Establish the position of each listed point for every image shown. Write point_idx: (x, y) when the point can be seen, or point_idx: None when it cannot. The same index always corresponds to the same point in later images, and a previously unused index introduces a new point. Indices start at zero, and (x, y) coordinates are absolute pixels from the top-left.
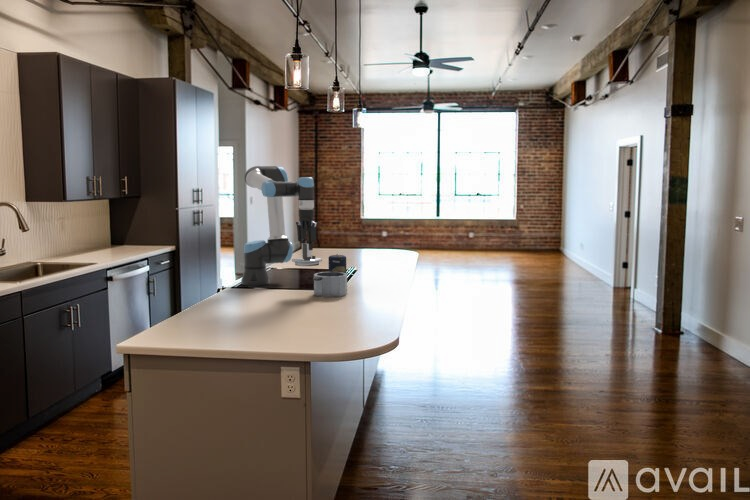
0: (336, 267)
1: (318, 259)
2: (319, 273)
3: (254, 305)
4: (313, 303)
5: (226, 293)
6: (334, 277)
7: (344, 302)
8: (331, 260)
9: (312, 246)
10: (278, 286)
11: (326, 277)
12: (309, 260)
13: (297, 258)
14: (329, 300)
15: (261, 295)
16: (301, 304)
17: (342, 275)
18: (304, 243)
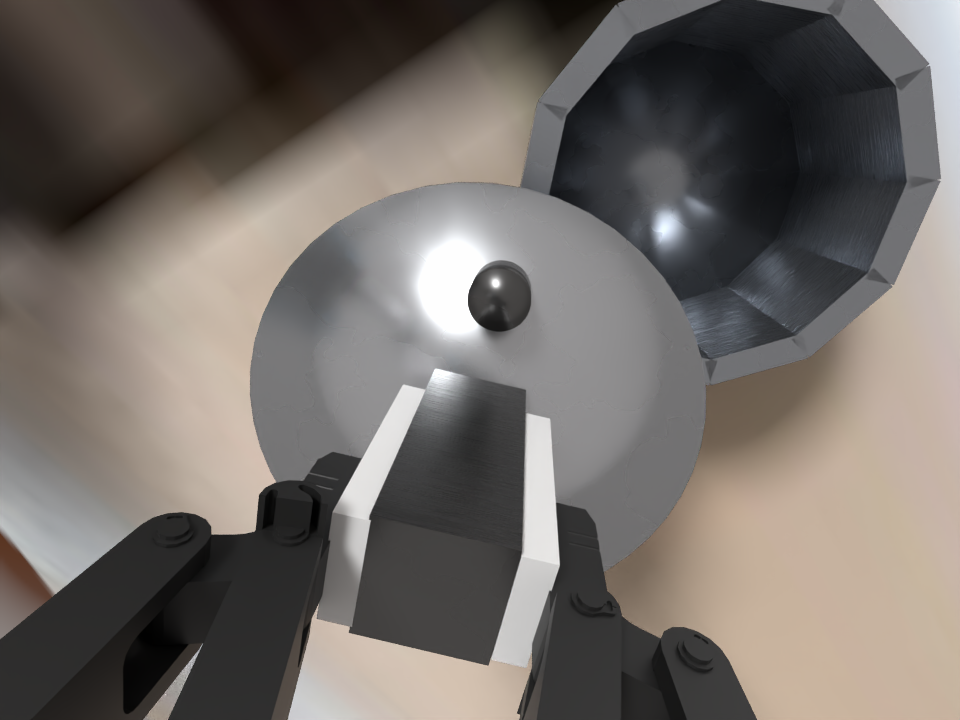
0: None
1: (639, 357)
2: (550, 186)
3: (419, 687)
4: (708, 526)
5: (14, 513)
6: (839, 326)
7: (912, 414)
8: None
9: (598, 562)
10: (49, 108)
11: (754, 370)
12: (574, 502)
13: (281, 392)
14: (772, 404)
15: (240, 469)
16: (650, 576)
17: (905, 200)
18: (402, 632)
